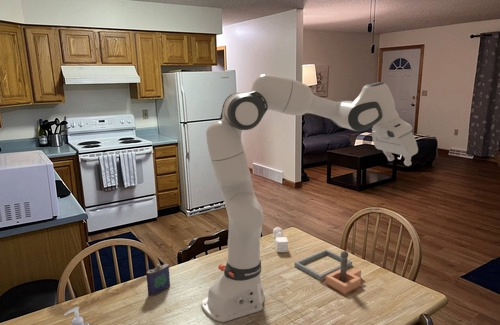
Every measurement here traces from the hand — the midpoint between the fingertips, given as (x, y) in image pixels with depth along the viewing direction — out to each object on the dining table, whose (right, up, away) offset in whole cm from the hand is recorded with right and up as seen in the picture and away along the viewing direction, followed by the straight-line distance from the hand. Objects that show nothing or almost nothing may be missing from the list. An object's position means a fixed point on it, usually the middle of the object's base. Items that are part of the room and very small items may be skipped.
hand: (399, 162), depth 129 cm
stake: (-18, -47, +7) cm, 51 cm away
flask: (-86, -48, +6) cm, 99 cm away
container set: (-39, -39, +45) cm, 71 cm away
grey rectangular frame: (-23, -43, +21) cm, 54 cm away
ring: (-16, -45, +9) cm, 49 cm away
